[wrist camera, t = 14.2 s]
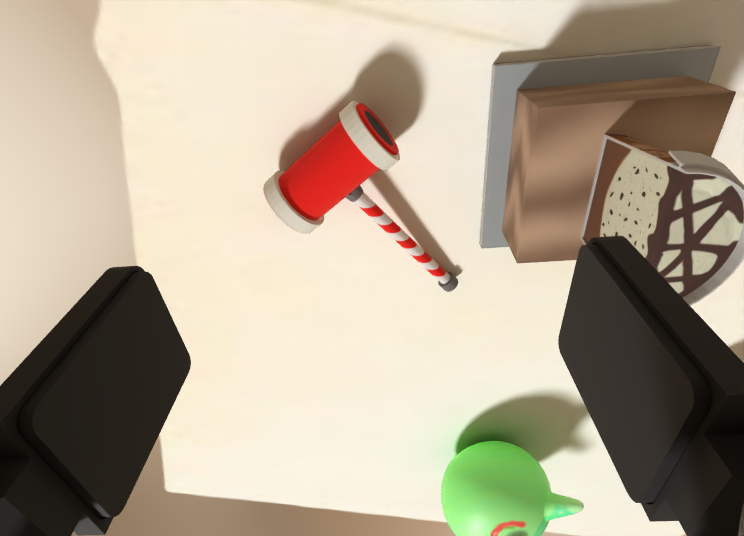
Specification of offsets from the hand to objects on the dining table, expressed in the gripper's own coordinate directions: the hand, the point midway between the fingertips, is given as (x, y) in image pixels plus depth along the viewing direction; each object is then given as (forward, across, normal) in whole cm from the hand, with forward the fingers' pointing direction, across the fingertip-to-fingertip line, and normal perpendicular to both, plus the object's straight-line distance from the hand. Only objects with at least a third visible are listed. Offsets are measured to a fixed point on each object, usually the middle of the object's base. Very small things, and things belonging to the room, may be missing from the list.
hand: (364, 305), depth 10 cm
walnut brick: (+31, -19, +10) cm, 38 cm away
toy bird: (+32, -14, +60) cm, 70 cm away
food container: (+26, -20, +10) cm, 34 cm away
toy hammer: (+33, +1, +13) cm, 35 cm away
